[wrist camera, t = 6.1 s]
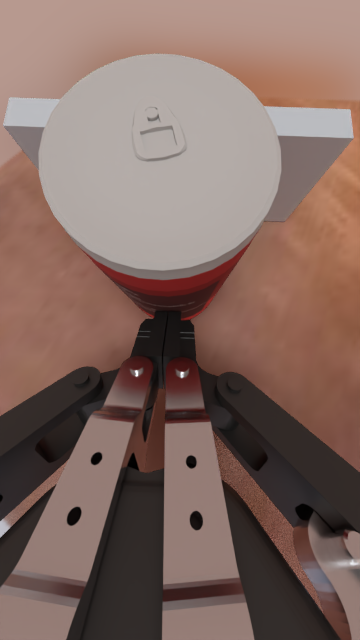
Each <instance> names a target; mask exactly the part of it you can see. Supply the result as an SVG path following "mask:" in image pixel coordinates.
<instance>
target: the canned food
mask: <svg viewBox="0 0 360 640" xmlns="http://www.w3.org/2000/svg"><path fill="white" fill-rule="evenodd" d="M280 175H281V148H280V144H279V140H278V136H277V132H276V129H275V126H274V124H273V122H272V120H271V118H270V116H269V114H268V112H267V110H266V109H265V107H264V106H263V105H262V104H261V102H260V101H259V100H258V98H257V97H256V96H255V94H254V93H253V92H252V91H250V90H249V89H248V88H247V87H246V86H245V85H244V84H243V83H242V82H240V81H239V80H238V79H237V78H235V77H234V76H232V75H230V74H229V73H227V72H226V71H224V70H222V69H221V68H219V67H216V66H214V65H211V64H209V63H206V62H204V61H201V60H198V59H194V58H189V57H184V56H181V55H171V54H148V55H138V56H133V57H129V58H125V59H121V60H118V61H114V62H112V63H110V64H107V65H105V66H103V67H101V68H99V69H96V70H95V71H93V72H92V73H90V74H89V75H87V76H86V77H84V78H83V79H81V80H80V81H78V82H77V83H76V84H75V85H74V86H73V87H72V88H71V89H70V90H69V91H68V92H67V93H66V94H65V95H64V96H63V97H62V98H61V100H60V101H59V103H58V104H57V105H56V107H55V108H54V110H53V111H52V113H51V114H50V117H49V119H48V121H47V124H46V126H45V128H44V131H43V133H42V138H41V143H40V148H39V176H40V180H41V184H42V188H43V192H44V196H45V198H46V200H47V202H48V204H49V206H50V208H51V210H52V212H53V214H54V216H55V217H56V219H57V220H58V221H59V222H60V223H61V225H62V226H63V228H64V229H65V231H66V232H67V233H68V234H69V236H70V237H71V238H72V239H73V241H74V242H75V243H76V244H77V245H78V247H79V248H80V249H81V250H82V251H83V252H84V253H85V254H86V255H87V256H88V257H89V258H90V259H91V260H92V261H93V262H94V264H95V265H96V266H98V267H99V268H100V269H101V270H102V271H103V272H104V273H105V274H106V275H107V276H108V277H109V278H110V279H111V280H112V281H113V282H114V283H115V284H116V285H117V286H118V287H119V288H120V289H121V290H122V291H123V292H124V293H125V294H126V295H127V296H128V297H129V298H130V299H131V300H132V301H133V302H134V303H135V304H136V305H137V306H138V307H139V308H140V309H141V310H143V311H144V312H145V313H146V314H148V315H149V316H151V317H153V318H154V315H155V311H168V314H169V311H179V312H181V320H189V319H191V318H193V317H195V316H197V315H198V314H200V313H201V312H202V311H203V310H204V309H205V308H207V306H208V305H209V303H210V302H211V301H212V299H213V298H214V296H215V295H216V293H217V292H218V290H219V289H220V288H221V286H222V285H223V283H224V282H225V280H226V279H227V277H228V276H229V274H230V273H231V271H232V270H233V269H234V267H235V266H236V264H237V263H238V261H239V260H240V258H241V257H242V255H243V254H244V253H245V251H246V250H247V248H248V247H249V245H250V243H251V242H252V240H253V238H254V237H255V235H256V234H257V232H258V231H259V229H260V228H261V226H262V224H263V222H264V220H265V217H266V215H267V213H268V212H269V209H270V207H271V205H272V203H273V200H274V198H275V196H276V193H277V191H278V185H279V180H280Z"/></svg>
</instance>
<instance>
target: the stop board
mask: <svg viewBox="0 0 360 640" xmlns="http://www.w3.org/2000/svg"><path fill="white" fill-rule="evenodd" d="M60 100H61V99H38V98H9V102H8V106H7V111H6V115H5V120H4V124H3V126H4V127H5V129H6V130H7V131H8V132H9V134H10V135H11V136H12V137H13V139H14V140H15V141H16V142H17V144H18V145H19V146H20V147H21V149H22V150H23V151H24V153H25V154H26V155H27V156H28V158H29V159H30V160H31V161H32V163H33V164H34V165H35V166H36V168H37V169H38V170H39V148H40V143H41V138H42V133H43V131H44V128H45V126H46V124H47V121H48V119H49V117H50V114H51V113H52V111H53V110H54V108H55V107H56V105H57V104H58V103H59V101H60ZM264 107H265V109H266V110H267V112H268V114H269V116H270V118H271V120H272V122H273V124H274V126H275V129H276V132H277V136H278V140H279V144H280V148H281V175H280V180H279V185H278V191H277V193H276V196H275V198H274V200H273V203H272V205H271V207H270V209H269V212H268V213H267V215H266V217H265V220H264V221H280V222H285V221H286V219H287V218H288V217H289V216H290V215H291V213H292V212H293V211H294V210H295V208H296V207H297V206H298V205H299V204H300V202H301V201H302V200H303V199H304V198H305V196H306V195H307V194H308V193H309V192H310V190H311V189H312V188H313V187H314V186H315V184H316V183H317V182H318V181H319V179H320V178H321V177H322V176H323V175H324V173H325V172H326V171H327V170H328V169H329V167H330V166H331V165H332V164H333V163H334V161H335V160H336V159H337V158H338V156H339V155H340V154H341V153H342V152H343V150H344V149H345V148H346V147H347V146H348V144H349V143H350V142H351V141H352V140H353V138H354V137H353V129H352V120H351V112H350V109H323V108H294V107H266V106H264Z"/></svg>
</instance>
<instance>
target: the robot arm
mask: <svg viewBox="0 0 360 640" xmlns="http://www.w3.org/2000/svg"><path fill="white" fill-rule="evenodd" d="M163 384H164V389H166V414H165V468H164V469H160V470H157V471H153V472H150V473H144V470H145V464H146V456H147V445H148V440H149V435H150V431H151V426H152V421H153V416H154V412H155V407H156V400H157V394H158V388H161V389H163ZM212 430H213V431H214V432H215V433H216V434H217V436H218V437H219V438H220V439H221V440H222V442H223V443H224V444H225V445H226V446H227V448H228V449H229V450H230V451H231V453H232V454H233V455H234V456H235V457H236V459H237V460H238V461H239V462H240V463H241V465H242V466H243V467H244V468H245V469H246V471H247V472H248V473H249V474H250V476H251V477H252V478H253V479H254V480H255V482H256V483H257V484H258V485H259V486H260V488H261V489H262V490H263V491H264V492H265V494H266V495H267V496H268V497H269V499H270V500H271V501H272V502H273V503H274V505H275V506H276V507H277V508H278V509H279V511H280V512H281V513H282V514H283V515H284V517H285V518H286V519H287V520H288V522H289V523H290V524H291V525H292V526H293V528H294V531H293V543H294V548H295V552H296V555H297V558H298V560H299V562H300V564H301V566H302V568H303V570H304V572H305V573H306V575H307V576H308V578H309V579H310V581H311V583H312V584H313V586H314V588H315V590H316V592H317V595H318V597H319V599H320V603H321V606H322V609H323V613H324V614H323V613H322V611H321V610H320V609H319V607H318V606H317V604H316V603H315V601H314V600H313V599H312V597H311V596H310V594H309V593H308V591H307V590H306V589H305V587H304V586H303V584H302V583H301V581H300V580H299V579H298V577H297V576H296V574H295V573H294V571H293V570H292V569H291V567H290V566H289V564H288V563H287V561H286V560H285V559H284V557H283V556H282V554H281V553H280V552H279V550H278V549H277V547H276V546H275V544H274V543H273V542H272V540H271V539H270V537H269V536H268V534H267V533H266V532H265V530H264V529H263V527H262V526H261V524H260V523H259V522H258V520H257V519H256V517H255V516H254V514H253V513H252V512H251V510H250V509H249V507H248V506H247V504H246V503H245V502H244V500H243V499H242V498H241V497H240V496H239V494H238V493H237V492H236V491H235V490H234V489H233V488H232V487H231V486H229V485H228V484H227V483H226V482H224V481H223V480H221V476H220V470H219V465H218V459H217V454H216V448H215V443H214V437H213V432H212ZM68 459H69V460H68ZM67 460H68V462H67V464H66V466H65V468H64V470H63V472H62V475H61V477H60V479H59V481H58V483H57V484H56V485H55V486H54V487H52V488H51V489H50V490H49V491H47V492H46V493H45V494H44V495H43V496H42V497H41V498H40V499H39V500H38V501H37V502H36V503H35V504H34V505H33V506H32V507H31V508H30V509H29V510H28V511H27V512H26V513H25V514H24V515H23V516H22V517H21V518H20V519H19V520H18V521H17V522H16V523H15V524H14V525H13V526H12V527H11V528H10V529H9V530H8V531H7V532H6V533H5V534H4V535H3V536H2V537H1V538H0V640H360V472H358V471H357V470H356V469H355V468H354V467H352V466H351V465H350V464H349V463H348V462H346V461H345V460H344V459H343V458H342V457H340V456H339V455H338V454H337V453H335V452H334V451H333V450H332V449H331V448H329V447H328V446H327V445H326V444H325V443H323V442H322V441H321V440H320V439H319V438H317V437H316V436H315V435H314V434H313V433H311V432H310V431H309V430H308V429H306V428H305V427H304V426H303V425H302V424H300V423H299V422H298V421H297V420H296V419H294V418H293V417H292V416H291V415H290V414H288V413H287V412H286V411H285V410H284V409H282V408H281V407H280V406H279V405H277V404H276V403H275V402H274V401H273V400H271V399H270V398H269V397H268V396H267V395H265V394H264V393H263V392H262V391H261V390H259V389H258V388H257V387H256V386H255V385H253V384H252V383H251V382H250V381H248V380H247V379H246V378H245V377H243V376H242V375H240V374H238V373H234V372H226V373H223V374H221V375H220V376H219V377H218V376H215V375H212V374H209V373H207V372H205V371H203V370H202V369H201V368H200V367H199V366H198V364H197V362H196V351H195V336H194V325H193V324H192V323H191V321H190V320H181V312H179V311H169V314H168V311H155V315H154V319H146V320H145V321H144V322H143V323H142V324H141V325H140V328H139V332H138V335H137V338H136V341H135V344H134V347H133V350H132V353H131V357H130V358H129V359H127V360H126V361H125V362H124V363H123V364H122V366H121V368H119V369H116V370H113V371H109V372H104V373H100V372H99V371H98V370H97V369H96V368H94V367H82V368H79V369H76V370H75V371H73V372H71V373H70V374H68V375H66V376H65V377H63V378H61V379H60V380H58V381H57V382H55V383H53V384H52V385H50V386H48V387H47V388H45V389H44V390H42V391H40V392H39V393H37V394H35V395H34V396H32V397H31V398H29V399H27V400H26V401H24V402H22V403H21V404H19V405H18V406H16V407H14V408H13V409H11V410H10V411H8V412H6V413H5V414H3V415H1V416H0V521H1V520H2V519H3V518H4V517H5V516H7V515H8V514H9V513H10V512H11V511H12V510H13V509H14V508H15V507H16V506H18V505H19V504H20V503H21V502H22V501H23V500H24V499H25V498H26V497H27V496H29V495H30V494H31V493H32V492H33V491H34V490H35V489H36V488H37V487H39V486H40V485H41V484H42V483H43V482H44V481H45V480H46V479H47V478H48V477H50V476H51V475H52V474H53V473H54V472H55V471H56V470H57V469H58V468H60V467H61V466H62V465H63V464H64V463H65V462H66V461H67Z"/></svg>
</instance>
